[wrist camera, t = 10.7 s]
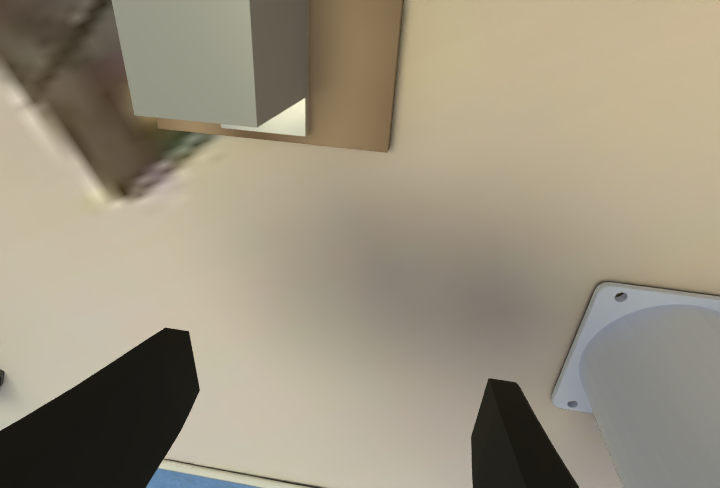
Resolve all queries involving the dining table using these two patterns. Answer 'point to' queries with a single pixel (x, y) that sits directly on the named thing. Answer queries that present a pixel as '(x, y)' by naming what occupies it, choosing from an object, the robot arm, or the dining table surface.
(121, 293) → the dining table surface
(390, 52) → the board
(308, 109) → the rail
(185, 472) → the tablet computer
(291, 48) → the block
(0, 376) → the mini dv tape
